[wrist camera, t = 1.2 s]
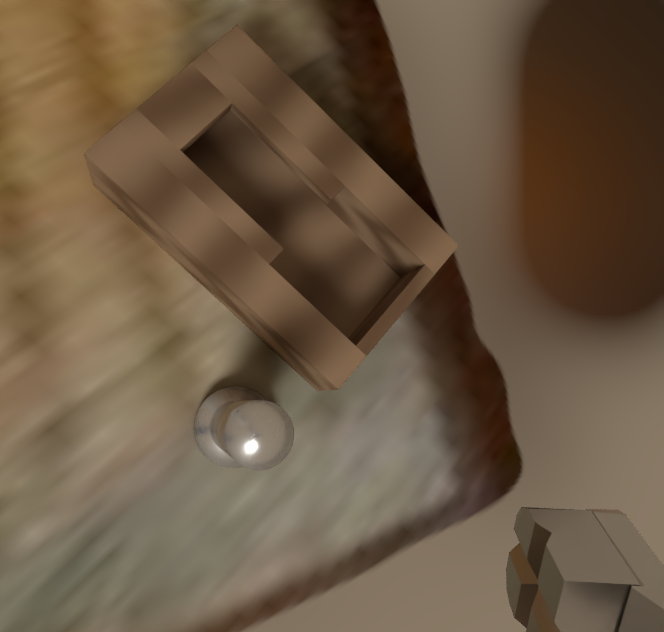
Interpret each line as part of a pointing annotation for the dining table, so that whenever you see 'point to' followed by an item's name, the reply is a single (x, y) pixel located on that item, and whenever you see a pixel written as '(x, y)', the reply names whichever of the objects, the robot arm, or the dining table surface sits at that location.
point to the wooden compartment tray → (271, 208)
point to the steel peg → (243, 429)
